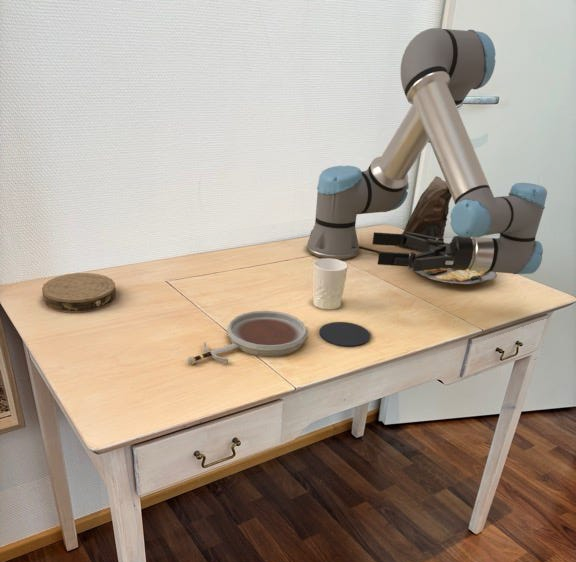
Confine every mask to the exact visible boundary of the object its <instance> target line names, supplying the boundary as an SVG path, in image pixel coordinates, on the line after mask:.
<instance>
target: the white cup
mask: <svg viewBox="0 0 576 562" xmlns="http://www.w3.org/2000/svg"><path fill="white" fill-rule="evenodd" d="M348 267H349V265H348V263H347V262H345V261H343V260H337V259H330V258H325V259H324V258H318V259H316V260H315V261H313V269H312V270H313V271H312V304H313V306H314V307H317V308H319V309H322V310H330V311H331V310H336V309H338V308H340V307H341V305H342V299H343V295H344V290H345V285H346V279H347V272H348Z"/></svg>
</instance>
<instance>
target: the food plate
mask: <svg viewBox="0 0 576 562" xmlns="http://www.w3.org/2000/svg"><path fill="white" fill-rule="evenodd" d="M409 258H410V256H409ZM419 267H420V266H419ZM408 269H410V270H411V271H413V268H409V267H408ZM413 272H415V273H417V274H419V275H421V276H423V277H425V278H427V279H431V280H434V281H435V282H440V283H443V284H444V285H449V284H460V285H461V284H462V285H472V284H477V283H484V282H488V281H491V280H494V279H497V277H498V273H497V272H484V271H480V273H476V271H470V270H469V269H467V270H452V269H450V268H439V269H431V270H423V271H413Z"/></svg>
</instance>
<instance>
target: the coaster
mask: <svg viewBox="0 0 576 562" xmlns="http://www.w3.org/2000/svg"><path fill="white" fill-rule="evenodd" d="M319 336H320V338H321V339H322V340H323V341H325V342H327V344H331V345H333V346H338V347H344V348H355V347H360V346H364V345H365V344H367V343H368V342H369V341H370V339H371V334H370V331H368V330H367V329H366V328H365V327H363V326H361V325H359V324H357V323H352V322H346V321H334V322H330V323H326V324H324V325H322V326H321V327H320V329H319Z"/></svg>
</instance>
